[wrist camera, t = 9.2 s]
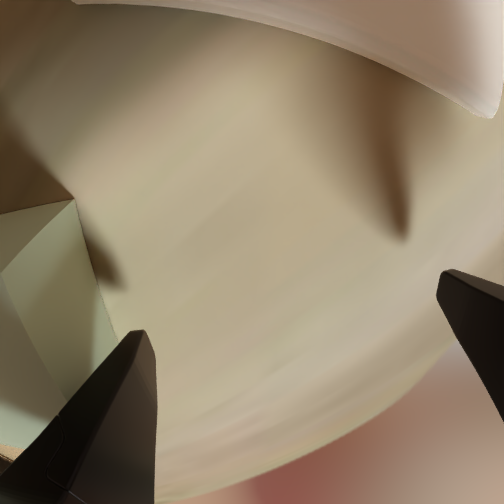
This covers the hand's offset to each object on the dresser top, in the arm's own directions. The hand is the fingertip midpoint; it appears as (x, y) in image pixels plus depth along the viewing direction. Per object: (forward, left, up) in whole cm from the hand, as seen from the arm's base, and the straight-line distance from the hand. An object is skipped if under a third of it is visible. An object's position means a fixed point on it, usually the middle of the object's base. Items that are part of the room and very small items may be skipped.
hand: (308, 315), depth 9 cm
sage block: (-1, -9, -2) cm, 9 cm away
